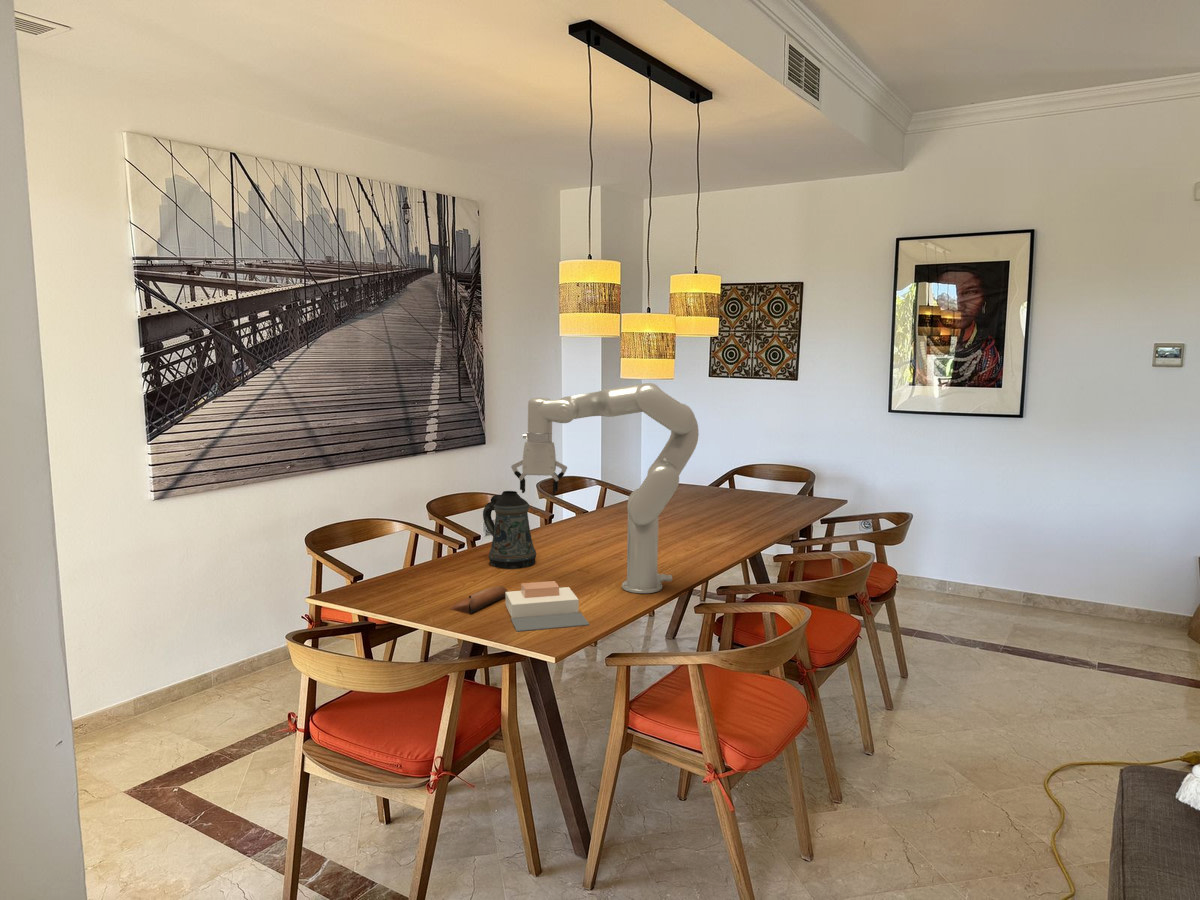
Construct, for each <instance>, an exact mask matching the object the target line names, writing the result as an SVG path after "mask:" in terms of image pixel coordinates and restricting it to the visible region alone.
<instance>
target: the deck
mask: <svg viewBox="0 0 1200 900" xmlns="http://www.w3.org/2000/svg"><path fill="white" fill-rule="evenodd" d="M504 598H505V607H506V609H507V610H508V613H509V615H510V616H511V618H520V617H532V616H544V615H556V614H567V613H579V602H580V601H579V600H580V599H579V598H578V597H577V596H576V594H575V593H574V591H572V589H571V588H570V587H569V586H568V587H566V586H565V587H559V595H557V596H544V597H531V598H525V597H524V596H523V594H522V592H521V590H514V591H513V590H512V591H508V592H505V597H504Z"/></svg>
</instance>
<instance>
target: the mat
mask: <svg viewBox="0 0 1200 900" xmlns="http://www.w3.org/2000/svg"><path fill="white" fill-rule="evenodd" d="M510 621H511V623H512V624H513V626H514V628H515V631H516V632H518V633H519V632H520V633H521V632H529V631H538V630H539V631H541V630H542V631H543V630H550V629H551V630H553V629H562V628H572V627H573V628H574V627H584V626H587V627H588V626H591V625H590V623H589V620H587V618H586V617H585V616H584V615H583V614H582V612H579V611H578V613H567V614H556V615H544V616H532V617H520V618H512V617H511V618H510Z"/></svg>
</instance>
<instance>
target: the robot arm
mask: <svg viewBox="0 0 1200 900" xmlns="http://www.w3.org/2000/svg"><path fill="white" fill-rule="evenodd" d="M527 403H528V404H527V432H526V433H522V439H525V440H526V441H525V442H524V445H523V450H522V452H523V455H522V459H521V460H520V461H518V462H516V463H514V464H511V466H510V468H511V471H512V472H513V475H515V476H516V478H518V480H519V490H520V491H521V494H525V493H526V476H551V478H552V479H553V481H552V494H553V495H556V493H557V492H558V491H559V480H561V478H563V477H564V475H565V473H566V472H567V470H568V466H567V465H565V464H563V463H561V462H559V461H558V460H557V458H556V456H557V455H556V447H555V442H553V423H559V424H568V423H571V422H572V421H573V420H578V419H585V418H589V417H590V418H592V417H605V418H606V417H607V418H610V417H612V418H614V417H618V416H619V417H620V416H625V415H631V414H637V413H644V414H645V415H646V416H648V417H649V418H651V419H653V420H654V421H655V422H657V423H658V424H660V425H662V426H663V427H664V428H666V429H668V430H669V431H670V436H669V438H668V440H667V441H666V443H665V446H664V447H663V448H662V450H661V451H660V453H659V455H658V456H657V458H656V459H655V460H654V461H653V462H652V464H651V465H650V467H649V468H648V471H647V475H646V477H645V478H644V480H643V481H642V483H641V485H640V486H639V488H636V489H634V490H633V491H632V492H631V493H630V494H629V496H628V499H627V504H626V506H627V507H626V508H627V543H626V544H627V549H626V552H627V553H626V555H627V557H626V580H624V581H623V582H622V583H621V588H622V589H623V590H624V591H625V592H626V591H627V592H629V593H634V594H652V593H653V594H654V593H657V592H660V591H661V590H662V589H663V584H662V583H663V582H672V581H673V576H672V574H667V575H666V574H665V573H661V574H660V573H659V572H658V563H659V562H658V553H659V551H658V549H659V547H658V546H659V545H658V544H659V516H660V514H661V513H662V512H663V510H664V509H665V508H666V506H667V504H668V503H669V501H671V498H673V495H674V494H675V493H676V491H677V490H678V489H677V488H678V486H679V484H680V475H681V473H682V472H683V471H684V468H685V467H686V466H687V464H688V462H689V460H690V458H691V457H692V455H693V454H694V452H695V450H696V447H697V445H698V441H699V435H700V433H699V425H698V424H699V423H698V421H697V419H696V416H695V414H694V411H693V410H692V408H691V407H690V406H688V405H687V404H686V403H681V402H680V401H679V400H677V399H675V398H674V397H672V396H671V395H669V394H668V393H667V392H665V391H664V390H662V389H661V388H660V387H659V386H658V384H655V383H653V382H645V383H638V384H631V385H626V386H619V387H613V388H607V389H602V390H599V391H594V392H587V393H580V394H575V395H569V396H568V395H567V396H563V397H560V398H559V399H558V398H557V399H551V398H548V397H532V398H530V399H529V400H528V402H527ZM521 466H522V467H521ZM518 467H519V468H520V467H521V469H522V473H521V472H520V471H519V470H518ZM556 468H559V469H561V471H560V472H559V473H558V474H557V472H556V471H557V469H556Z"/></svg>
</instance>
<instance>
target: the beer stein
mask: <svg viewBox="0 0 1200 900" xmlns="http://www.w3.org/2000/svg"><path fill="white" fill-rule="evenodd" d="M529 510H530V503H529V502H528V501H527V500H526V499H524V498H522V497H521V496H520V494H518V491H515V490H503V491H502V493H501V494H495V495H493V496H492V497H491V499H490V501H489V502H487V503H486V504H485V505H484V508H483V511H482V517H483V522H484V525H485V527H486V529H487V530H488V532H489V533H490V535H491V536H492V541H491V547H490V549H489V553H488V559H489V564H490V566H492V567H493V568H496V569H504V570H517V569H518V570H520V569H526V568H530V567H533V566H534V565H535V564H536V558H537V552H536V549H535V546H534V543H533V539H532V534H531V528H530V523H529V515H528V512H529ZM492 511H494V512H495V519H494V521H493V519H492Z"/></svg>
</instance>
